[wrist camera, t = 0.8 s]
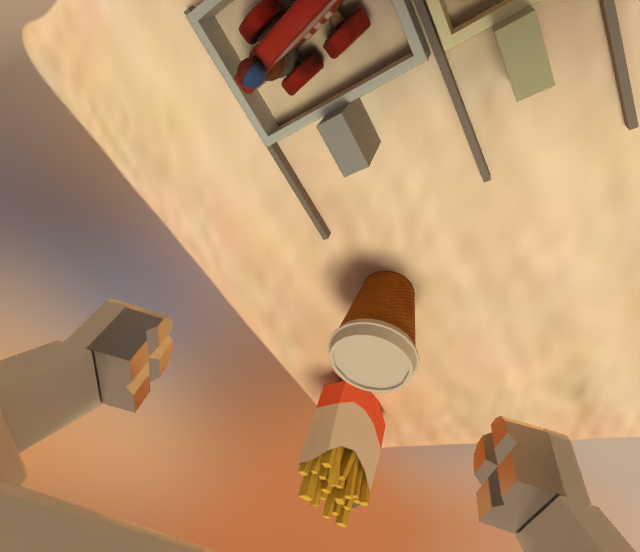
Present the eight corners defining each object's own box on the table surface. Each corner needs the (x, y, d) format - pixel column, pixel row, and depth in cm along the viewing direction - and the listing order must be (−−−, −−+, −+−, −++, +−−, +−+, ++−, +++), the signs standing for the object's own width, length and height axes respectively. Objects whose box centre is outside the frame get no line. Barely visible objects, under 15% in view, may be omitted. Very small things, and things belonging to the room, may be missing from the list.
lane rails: (551, -301, 23) (554, -311, 22) (634, 121, 34) (638, 126, 33) (190, 10, 38) (183, 12, 38) (326, 234, 49) (323, 239, 48)
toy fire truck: (237, 39, 39) (177, 64, 31) (338, -75, 32) (293, -80, 24) (286, 103, 41) (242, 140, 33) (390, 9, 34) (365, 29, 26)
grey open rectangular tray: (362, -123, 30) (342, -134, 25) (452, 108, 37) (448, 131, 33) (202, 12, 38) (166, 21, 34) (301, 178, 46) (282, 204, 41)
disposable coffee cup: (346, 258, 50) (318, 327, 41) (428, 260, 47) (416, 335, 38) (354, 317, 56) (331, 389, 47) (428, 323, 53) (418, 401, 44)
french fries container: (351, 366, 62) (317, 484, 49) (390, 411, 66) (367, 532, 53) (327, 373, 65) (288, 487, 51) (366, 416, 69) (338, 532, 55)
